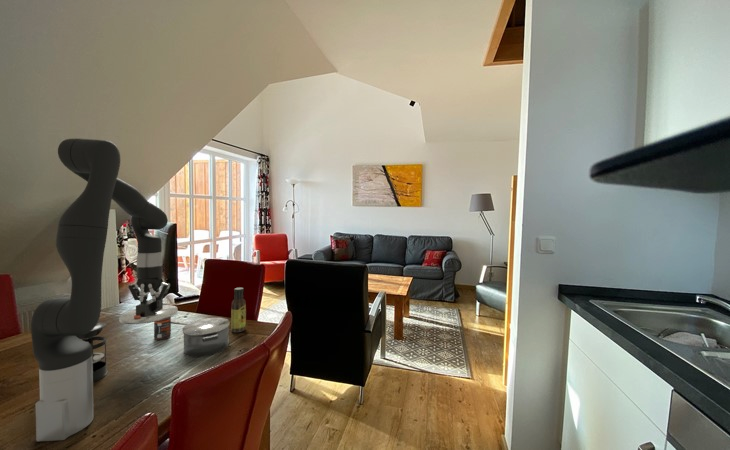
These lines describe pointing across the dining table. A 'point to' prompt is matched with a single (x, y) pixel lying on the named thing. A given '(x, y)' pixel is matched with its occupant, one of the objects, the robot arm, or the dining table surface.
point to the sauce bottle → (238, 311)
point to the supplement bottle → (162, 329)
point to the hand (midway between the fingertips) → (149, 310)
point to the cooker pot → (206, 337)
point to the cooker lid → (148, 313)
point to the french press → (98, 365)
